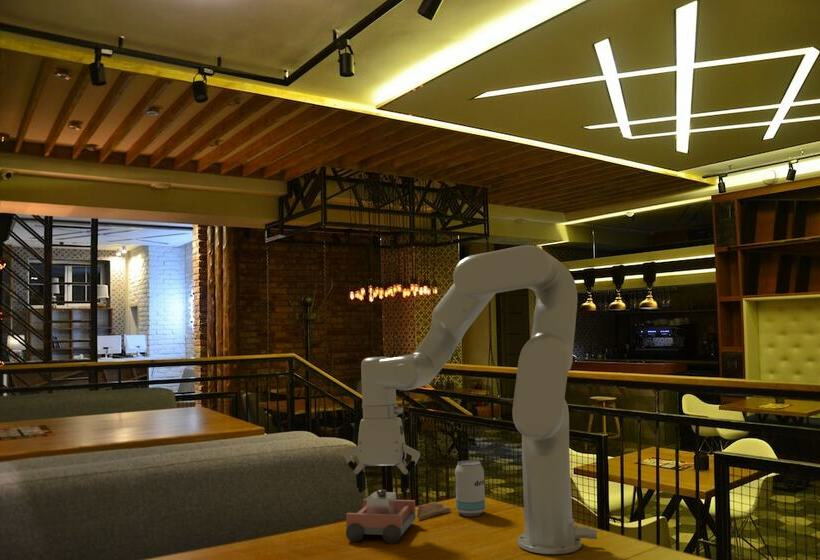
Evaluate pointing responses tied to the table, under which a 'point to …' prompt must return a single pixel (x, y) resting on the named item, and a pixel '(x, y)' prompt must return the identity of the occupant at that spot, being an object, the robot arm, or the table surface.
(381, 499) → the cube with metal knob
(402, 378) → the robot arm
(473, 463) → the beverage can
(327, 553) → the table surface
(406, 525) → the chassis
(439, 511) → the shard
